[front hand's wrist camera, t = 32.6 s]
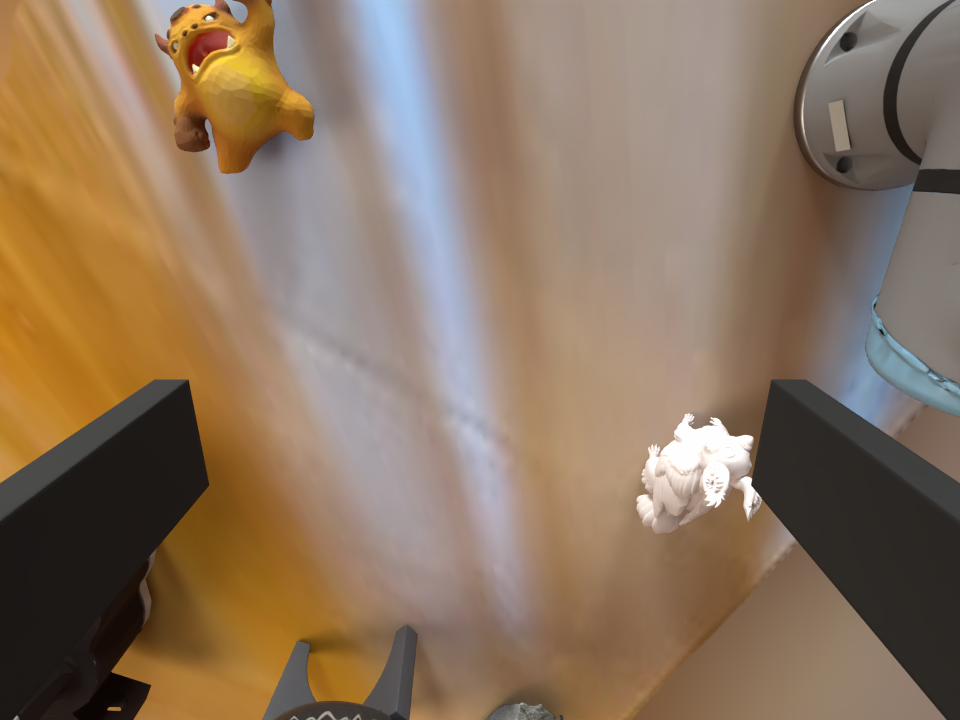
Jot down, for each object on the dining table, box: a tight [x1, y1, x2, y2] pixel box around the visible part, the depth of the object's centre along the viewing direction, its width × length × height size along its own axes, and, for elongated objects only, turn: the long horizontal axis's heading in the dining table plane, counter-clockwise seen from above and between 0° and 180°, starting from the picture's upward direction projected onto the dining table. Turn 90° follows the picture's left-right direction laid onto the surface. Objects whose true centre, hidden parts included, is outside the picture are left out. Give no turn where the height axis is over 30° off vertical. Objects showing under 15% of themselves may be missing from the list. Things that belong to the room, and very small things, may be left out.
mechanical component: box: [14, 548, 157, 720], centre depth 53 cm, size 22×21×30 cm
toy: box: [155, 0, 314, 174], centre depth 44 cm, size 11×6×15 cm
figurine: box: [636, 413, 762, 534], centre depth 53 cm, size 8×15×13 cm, turn 161°
